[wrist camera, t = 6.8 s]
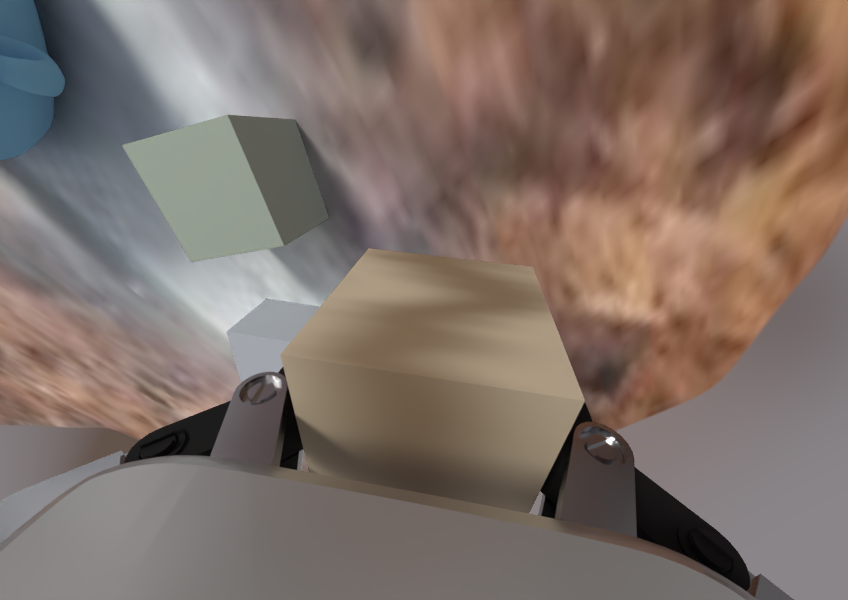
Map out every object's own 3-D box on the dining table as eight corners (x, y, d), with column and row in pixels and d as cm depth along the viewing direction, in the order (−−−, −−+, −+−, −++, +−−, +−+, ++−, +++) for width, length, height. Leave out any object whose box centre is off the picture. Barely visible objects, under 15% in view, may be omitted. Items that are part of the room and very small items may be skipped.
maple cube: (532, 267, 11) (584, 400, 6) (499, 386, 14) (514, 541, 9) (368, 248, 11) (279, 354, 6) (372, 366, 14) (316, 502, 9)
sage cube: (295, 119, 18) (227, 114, 13) (329, 217, 21) (284, 246, 16) (213, 141, 20) (121, 145, 14) (255, 231, 22) (191, 262, 17)
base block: (373, 312, 25) (352, 351, 20) (372, 391, 29) (355, 436, 25) (268, 297, 25) (226, 331, 21) (283, 376, 30) (251, 418, 25)
